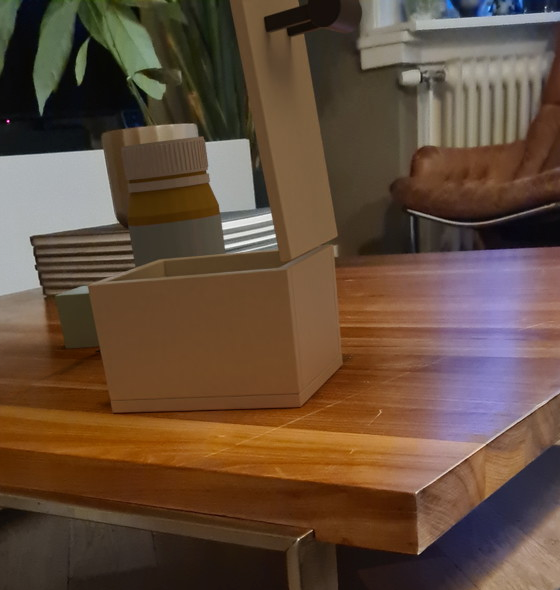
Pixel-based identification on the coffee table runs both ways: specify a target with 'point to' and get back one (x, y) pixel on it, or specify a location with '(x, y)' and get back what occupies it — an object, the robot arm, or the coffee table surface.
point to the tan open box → (219, 331)
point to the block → (77, 318)
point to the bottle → (171, 201)
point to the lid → (290, 112)
